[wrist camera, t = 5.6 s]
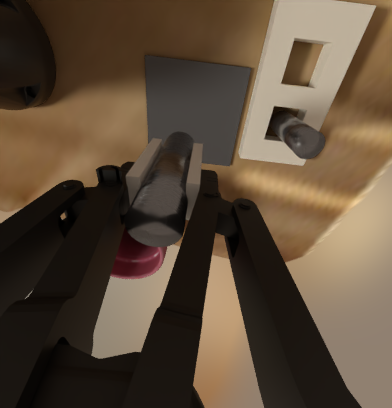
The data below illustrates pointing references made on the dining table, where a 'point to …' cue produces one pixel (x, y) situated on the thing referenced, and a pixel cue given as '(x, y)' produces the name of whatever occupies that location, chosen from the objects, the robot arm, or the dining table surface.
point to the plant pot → (136, 258)
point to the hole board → (322, 76)
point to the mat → (196, 103)
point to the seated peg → (297, 134)
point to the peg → (162, 195)
